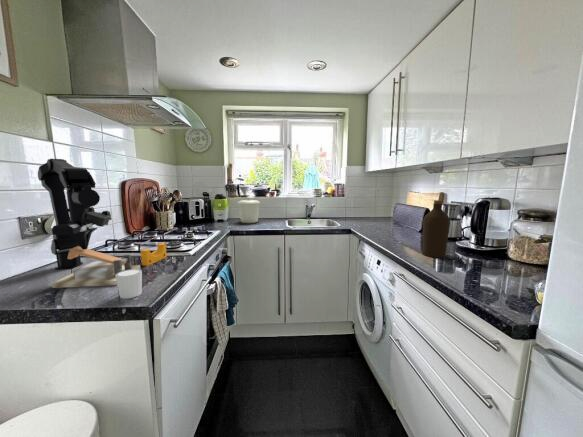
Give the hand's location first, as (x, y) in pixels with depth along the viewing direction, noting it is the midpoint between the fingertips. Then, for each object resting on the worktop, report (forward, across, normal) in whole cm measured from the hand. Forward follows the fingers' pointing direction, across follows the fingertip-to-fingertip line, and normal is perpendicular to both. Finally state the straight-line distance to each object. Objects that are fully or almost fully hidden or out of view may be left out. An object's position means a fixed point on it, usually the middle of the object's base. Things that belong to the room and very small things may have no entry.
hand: (85, 249), depth 90 cm
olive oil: (+11, +11, -140) cm, 141 cm away
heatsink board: (+10, 0, -4) cm, 11 cm away
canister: (+11, +112, -51) cm, 123 cm away
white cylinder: (+11, -16, -22) cm, 29 cm away
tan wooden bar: (+5, 0, -3) cm, 6 cm away
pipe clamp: (+11, +18, -15) cm, 25 cm away
